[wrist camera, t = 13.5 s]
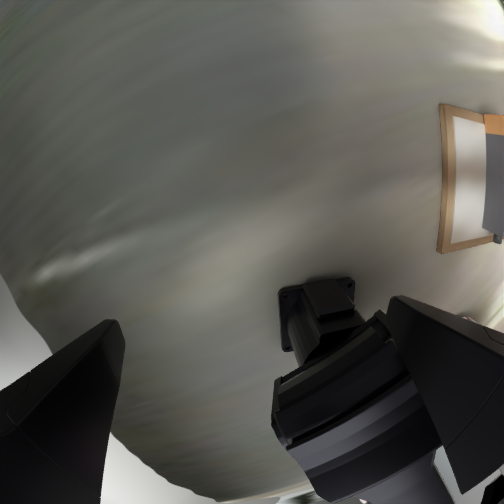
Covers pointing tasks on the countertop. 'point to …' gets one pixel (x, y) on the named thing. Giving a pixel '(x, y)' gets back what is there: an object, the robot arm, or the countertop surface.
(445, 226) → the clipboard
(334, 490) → the robot arm
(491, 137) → the marker
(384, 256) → the countertop surface
